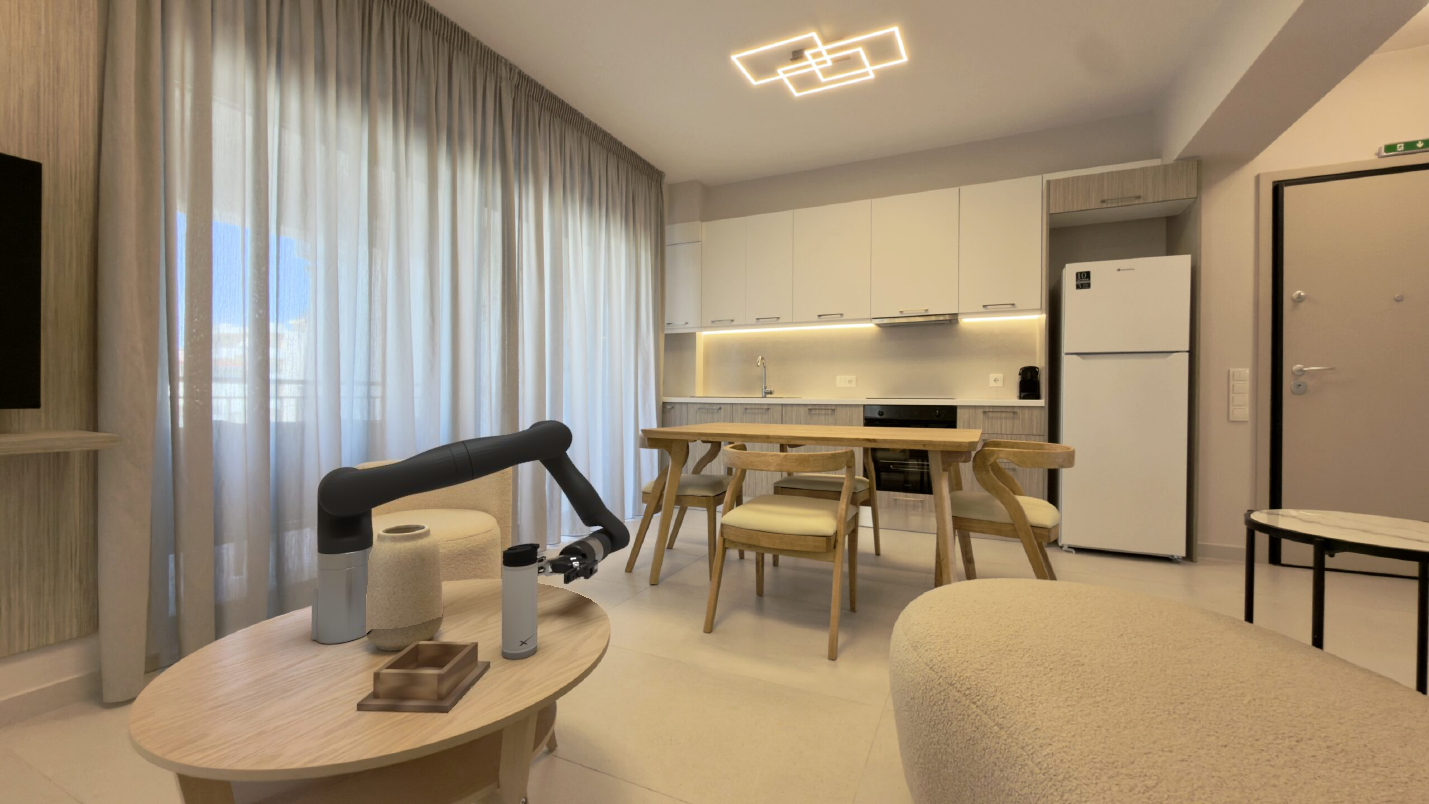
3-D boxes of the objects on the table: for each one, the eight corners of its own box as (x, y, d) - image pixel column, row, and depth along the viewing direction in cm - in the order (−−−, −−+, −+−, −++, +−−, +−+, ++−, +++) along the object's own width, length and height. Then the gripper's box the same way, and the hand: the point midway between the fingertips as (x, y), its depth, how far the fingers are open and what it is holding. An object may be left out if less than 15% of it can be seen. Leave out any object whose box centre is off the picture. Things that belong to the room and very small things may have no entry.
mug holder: (356, 710, 81) (357, 676, 81) (412, 665, 95) (412, 637, 95) (448, 712, 80) (448, 678, 81) (490, 667, 94) (490, 638, 95)
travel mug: (532, 660, 97) (532, 549, 97) (495, 659, 97) (496, 548, 97) (543, 644, 103) (544, 540, 104) (509, 644, 104) (510, 540, 104)
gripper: (553, 538, 127) (514, 557, 111) (610, 541, 124) (578, 561, 108) (553, 570, 127) (514, 593, 111) (610, 574, 124) (578, 598, 108)
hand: (546, 577), depth 110 cm, fingers open, 8 cm apart
